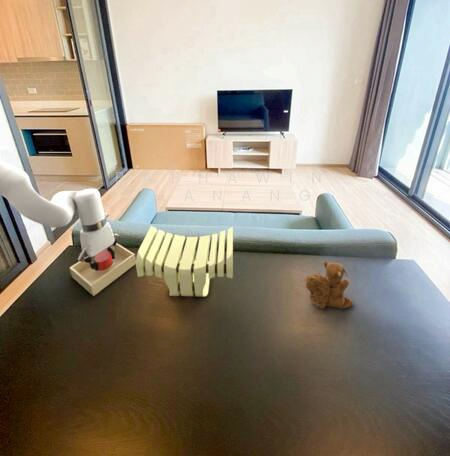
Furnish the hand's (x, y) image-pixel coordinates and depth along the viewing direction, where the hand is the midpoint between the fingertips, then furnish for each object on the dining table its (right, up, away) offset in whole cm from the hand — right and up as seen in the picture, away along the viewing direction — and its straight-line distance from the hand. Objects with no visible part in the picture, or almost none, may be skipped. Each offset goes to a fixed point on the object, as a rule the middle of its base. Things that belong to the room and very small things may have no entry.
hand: (103, 262), depth 92 cm
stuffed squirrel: (+79, -7, -11) cm, 80 cm away
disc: (0, -1, 0) cm, 1 cm away
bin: (0, -3, +1) cm, 4 cm away
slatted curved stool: (+34, -5, -4) cm, 34 cm away
